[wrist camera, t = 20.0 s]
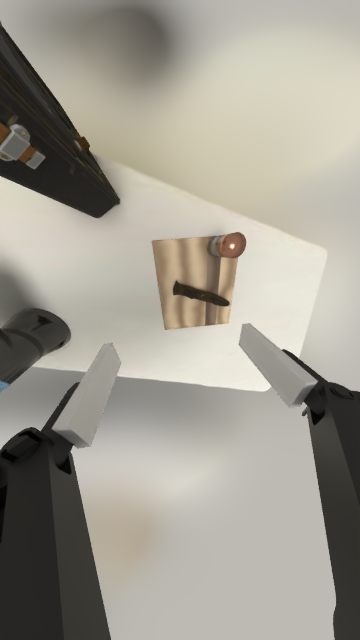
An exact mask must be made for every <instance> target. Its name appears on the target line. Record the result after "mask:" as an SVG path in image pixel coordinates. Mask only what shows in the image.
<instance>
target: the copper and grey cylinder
mask: <svg viewBox="0 0 360 640" xmlns="http://www.w3.org/2000/svg"><path fill="white" fill-rule="evenodd" d="M245 247H246V239H245V237H244V235H243V234H241V233H239V232H236V233H231V234H227V235H223V236H219V237H215V238H213V239H211V240H210V241H209V243H208V245H207V251H208V253H209V254H210V255H212V256H217V257H224V258H231V259H234V258H237V257H239V256H240V255H241V254H242V253H243V252H244V250H245Z"/></svg>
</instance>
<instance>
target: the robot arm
mask: <svg viewBox="0 0 360 640" xmlns="http://www.w3.org/2000/svg"><path fill="white" fill-rule="evenodd" d="M69 339H70V330H69V328H68V326H67V325H66V324H65V323H64V321H62V320H61V319H60V318H59V317H57V316H56V315H54V314H52V313H50V312H47V311H44V310H40V309H27V310H24V311H22V312H19V313H17V314H15V315H14V316H13V317H12V318H11V319H10V320H9V321H7V322H6V323H5V324H4V325H3V326H2V327H1V328H0V392H2V390H4V389H6V388H7V387H9V385H10V384H11V383H12V382H13V381H15V380H16V379H17V378H18V377H19V376H20V375H21V374H23V373H24V372H25V371H26V370H27V369H28V368H30V367H31V366H32V365H33V364H34V363H35V362H37V361H38V360H39V359H40V358H41V357H42V356H44V355H46V354H49V353H51V352H53V351H55V350H57V349H59V348H61V347H63V346H64V345H65V344H66V343H67V342H68V341H69ZM239 346H240V347H241V348H242V350H243V351H244V352H245V353H246V355H247V356H248V357H249V358H250V360H251V361H252V362H253V363H254V365H255V366H256V367H257V368H258V370H259V371H260V372H261V373H262V375H263V376H264V377H265V378H266V380H267V381H268V382H269V383H270V385H271V386H272V387H273V388H274V390H275V391H276V392H277V393H278V395H279V396H280V397H281V398H282V400H283V401H284V402H285V403H286V405H287V406H288V407H289V408H294V407H300V406H301V404H302V403H303V402H305V403H306V404H307V407H306V409H305V410H304V411H303V412H302V416H305V415H306V414H307V415H308V417H307V418H308V422H309V428H310V435H311V441H312V447H313V453H314V459H315V466H316V472H317V479H318V485H319V490H320V497H321V503H322V510H323V516H324V523H325V529H326V535H327V541H328V548H329V554H330V560H331V566H332V573H333V579H334V585H335V592H336V607H335V611H334V615H333V616H334V617H333V626H334V637H335V640H360V392H358V391H350V390H348V389H347V388H345V387H344V386H341V385H339V384H336V383H332V382H328V381H326V380H325V379H324V378H322V377H321V376H320V375H318V374H317V373H316V372H315V371H314V370H312V369H311V368H310V367H309V366H307V365H306V364H304V363H303V362H302V361H301V360H300V359H298V358H297V357H296V356H295V355H294V354H292V353H291V352H289V351H287V350H285V349H283V350H281V349H279V348H278V347H277V346H276V345H275V344H274V343H272V342H271V341H270V340H269V339H268V338H266V337H265V336H264V335H263V334H262V333H261V332H259V331H258V330H257V329H256V328H255V327H253V326H252V325H251V324H250V323H248V324H242V329H241V335H240V340H239ZM120 365H121V361H120V359H119V357H118V355H117V352H116V350H115V348H114V346H113V344H112V343H108V344H104V345H103V347H102V348H101V350H100V351H99V353H98V355H97V356H96V358H95V360H94V361H93V363H92V364H91V366H90V368H89V369H88V371H87V372H86V374H85V376H84V377H83V379H82V381H81V382H78V383H75V384H74V385H73V386H72V387H71V388H70V389H69V390H68V391H67V393H66V394H65V396H64V398H63V399H62V400H61V402H60V403H59V406H57V408H56V409H55V411H54V413H53V414H52V415H51V417H50V418H49V420H48V421H47V423H46V424H45V426H44V427H43V429H42V430H41V431H39V430H38V429H36V428H33V427H30V428H27V429H24V430H22V431H21V432H19V433H17V434H16V435H15V436H14V437H12V438H11V439H10V440H9V441H8V442H7V443H6V444H5V445H4V446H3V447H2V449H1V450H0V640H111V637H110V632H109V628H108V624H107V618H106V613H105V609H104V604H103V600H102V595H101V590H100V585H99V580H98V576H97V571H96V566H95V562H94V556H93V552H92V547H91V542H90V537H89V533H88V528H87V523H86V519H85V514H84V509H83V504H82V500H81V495H80V490H79V485H78V481H77V476H76V471H75V466H74V461H73V457H72V454H71V452H70V451H71V449H72V446H73V445H74V446H75V447H77V448H84V447H89V446H91V444H92V442H93V439H94V435H95V433H96V430H97V428H98V425H99V422H100V420H101V417H102V414H103V411H104V409H105V406H106V403H107V400H108V398H109V395H110V392H111V390H112V387H113V384H114V381H115V379H116V376H117V373H118V370H119V368H120Z"/></svg>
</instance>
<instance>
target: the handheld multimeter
mask: <svg viewBox="0 0 360 640" xmlns="http://www.w3.org/2000/svg"><path fill="white" fill-rule="evenodd" d="M89 147H90V145H89V143H88V142H87V140H86V139H85V137H80V135H79V133H78V132H77V130H76V129H75V127H74V125H73V124H72V122H71V121H70V119H69V117H68V116H67V114H66V112H65V111H64V109H63V108H62V106H61V105H60V103H59V102H58V101H57V99H56V98H55V97H54V95H53V94H52V92H51V91H50V90H49V88H48V87H47V86H46V84H45V83H44V82H43V80H42V79H41V78H40V77H39V75H38V74H37V72H36V71H35V70H34V68H33V67H32V66H31V64H30V63H29V61H28V60H27V59H26V58H25V56H24V55H23V54H22V52H21V51H20V49H19V48H18V47H17V45H16V44H15V43H14V41H13V40H12V39H11V37H10V36H9V34H8V33H7V32H6V30H5V29H4V28H3V27H2V25H1V22H0V176H1V177H4V178H6V179H8V180H11V181H13V182H15V183H17V184H20V185H22V186H24V187H27V188H29V189H31V190H33V191H36V192H38V193H40V194H43V195H45V196H47V197H49V198H52V199H54V200H56V201H58V202H61V203H63V204H65V205H68V206H70V207H72V208H74V209H77V210H79V211H81V212H84V213H86V214H88V215H90V216H93V217H95V218H99V217H101V216H102V215H103V214H104V213H105V212H107V211H108V210H109V209H110V208H111V207H112V206H114V205H115V204H119V203H120V202H119V200H120V199H119V198H118V196H117V194H116V193H115V191H114V189H113V188H112V186H111V185H110V183H109V181H108V180H107V178H106V177H105V175H104V173H103V172H102V170H101V169H100V167H99V165H98V164H97V162H96V161H95V159H94V157H93V155H92V154H91V152H90V151H89Z"/></svg>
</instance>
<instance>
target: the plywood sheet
mask: <svg viewBox="0 0 360 640" xmlns="http://www.w3.org/2000/svg"><path fill="white" fill-rule="evenodd" d="M215 237H219V236H213V237H199V238H185V239H171V240H157V241H152V245H153V252H154V259H155V265H156V272H157V279H158V286H159V293H160V299H161V306H162V313H163V320H164V326H165V330H167V329H177V328H187V327H197V326H207V325H217V324H227V323H229V316H230V309H231V302H232V295H233V288H234V281H235V274H236V267H237V260H238V257H237V258H234V259H231V258H224V257H217V256H212V255H210V254H209V253H208V251H207V245H208V243H209V241H210V240H211V239H213V238H215ZM176 281H178V283H180V284H183V285H186V286H191V287H193V288H196V289H199V290H203V291H206V292H209V293H212V294H216V295H218V296H220V297H222V298H225V299H226V300H228V301H229V302H230V305H229V306H226V307H223V306H218V305H214V304H213V303H209V302H205V301H201V300H197V299H190V298H188V297H186V296H181V295H173V288H174V285H175V282H176Z"/></svg>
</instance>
